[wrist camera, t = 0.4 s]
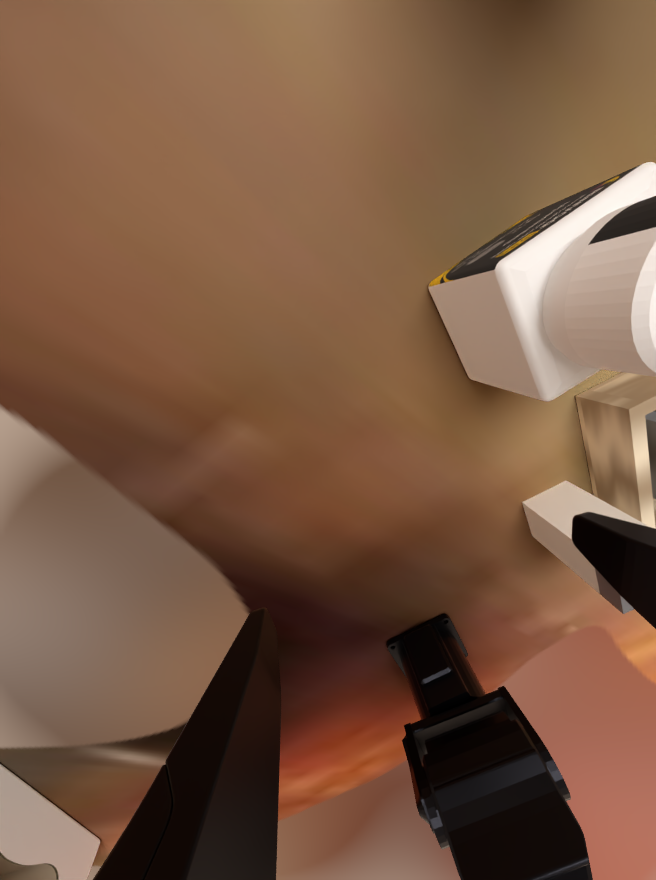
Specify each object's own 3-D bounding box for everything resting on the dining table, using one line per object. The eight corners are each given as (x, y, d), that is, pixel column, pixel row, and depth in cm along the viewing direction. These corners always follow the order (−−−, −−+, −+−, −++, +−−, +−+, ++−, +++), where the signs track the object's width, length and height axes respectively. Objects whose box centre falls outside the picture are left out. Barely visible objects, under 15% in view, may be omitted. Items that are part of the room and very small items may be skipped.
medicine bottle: (527, 214, 19) (889, 49, 7) (560, 321, 21) (867, 318, 10) (424, 285, 19) (617, 231, 8) (468, 381, 22) (661, 440, 11)
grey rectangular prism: (573, 515, 27) (681, 586, 20) (532, 535, 28) (623, 614, 20) (566, 480, 26) (679, 543, 19) (522, 502, 26) (616, 573, 19)
